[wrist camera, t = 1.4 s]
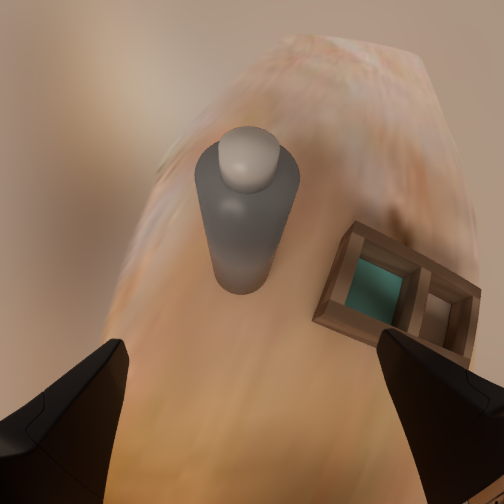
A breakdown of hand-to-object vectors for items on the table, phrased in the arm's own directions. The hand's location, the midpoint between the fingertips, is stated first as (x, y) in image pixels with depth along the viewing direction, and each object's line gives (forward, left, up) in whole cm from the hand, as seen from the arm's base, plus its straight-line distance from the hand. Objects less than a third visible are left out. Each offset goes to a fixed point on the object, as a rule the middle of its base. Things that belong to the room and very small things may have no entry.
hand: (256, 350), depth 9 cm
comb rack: (+9, -12, -13) cm, 20 cm away
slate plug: (+7, +3, -13) cm, 15 cm away
